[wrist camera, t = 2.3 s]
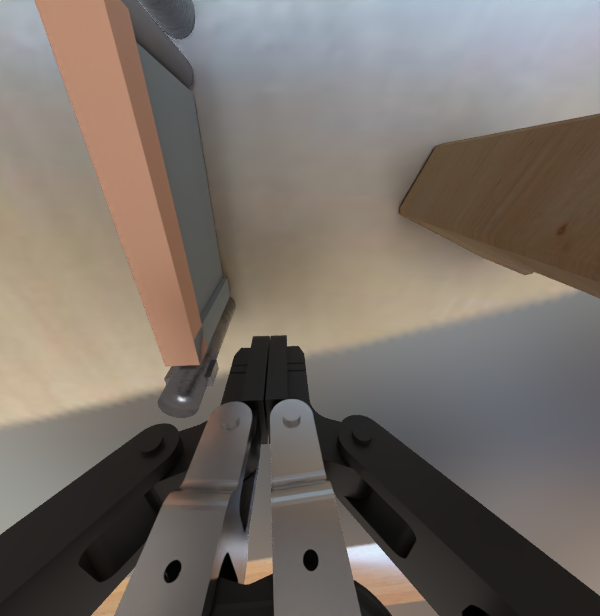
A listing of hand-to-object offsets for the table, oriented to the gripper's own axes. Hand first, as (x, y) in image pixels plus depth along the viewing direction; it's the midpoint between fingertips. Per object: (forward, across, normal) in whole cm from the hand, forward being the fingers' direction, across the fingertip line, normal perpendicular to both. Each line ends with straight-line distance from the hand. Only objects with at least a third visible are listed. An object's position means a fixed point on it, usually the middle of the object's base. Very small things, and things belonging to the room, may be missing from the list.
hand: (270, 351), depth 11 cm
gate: (+12, +5, -5) cm, 14 cm away
